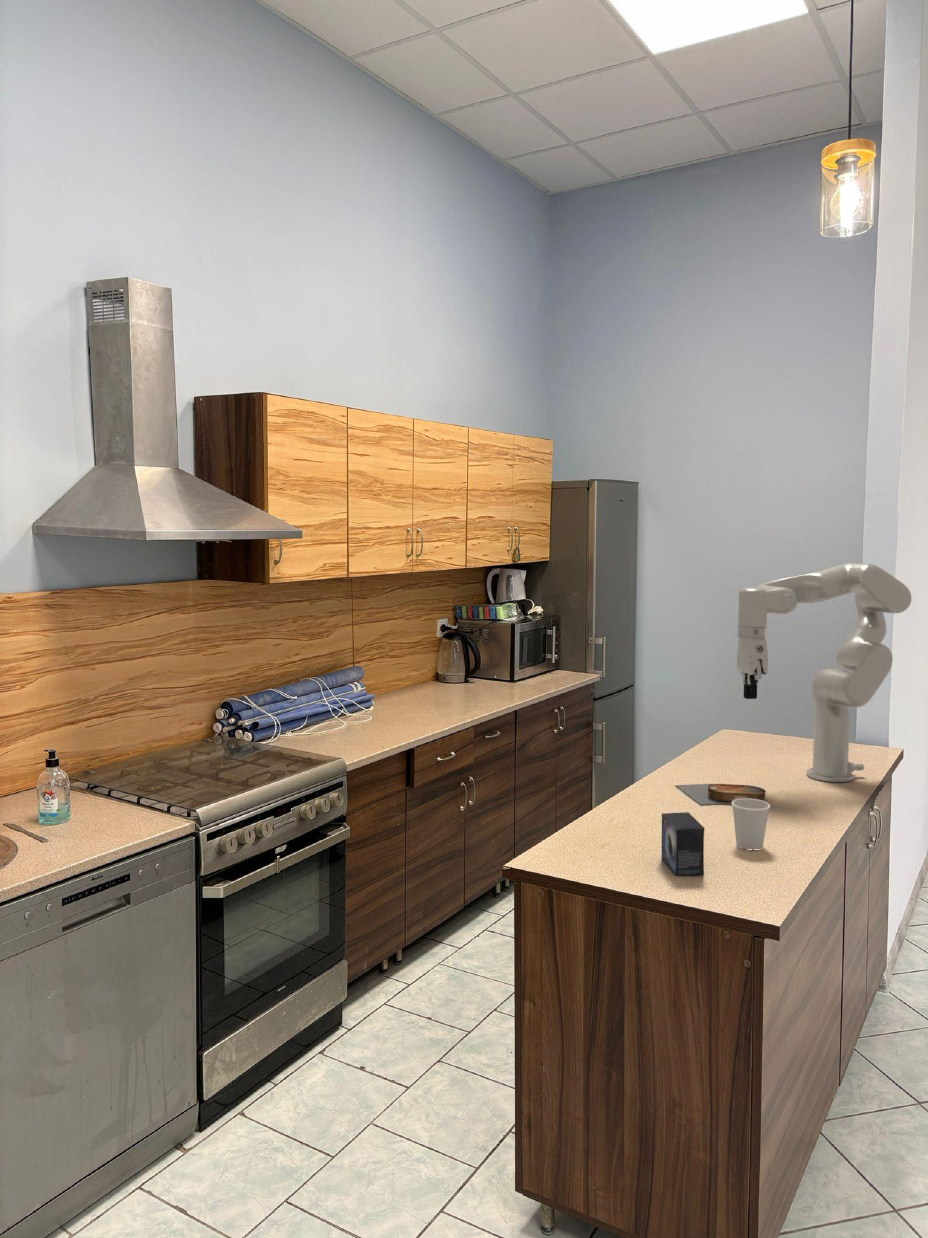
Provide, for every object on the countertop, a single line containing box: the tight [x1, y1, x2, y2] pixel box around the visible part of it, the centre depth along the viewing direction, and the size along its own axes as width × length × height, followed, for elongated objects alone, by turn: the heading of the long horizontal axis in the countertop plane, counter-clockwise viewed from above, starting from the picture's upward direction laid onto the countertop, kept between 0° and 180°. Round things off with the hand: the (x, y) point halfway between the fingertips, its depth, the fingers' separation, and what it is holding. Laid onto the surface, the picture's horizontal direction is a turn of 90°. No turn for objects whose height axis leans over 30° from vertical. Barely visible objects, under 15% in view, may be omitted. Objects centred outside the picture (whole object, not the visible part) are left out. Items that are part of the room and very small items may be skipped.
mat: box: [674, 783, 732, 806], centre depth 245 cm, size 11×18×1 cm, turn 8°
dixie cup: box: [731, 798, 771, 850], centre depth 204 cm, size 8×8×10 cm
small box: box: [660, 811, 705, 877], centre depth 192 cm, size 11×6×10 cm, turn 5°
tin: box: [708, 783, 767, 802], centre depth 241 cm, size 15×3×8 cm
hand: (750, 698), depth 251 cm, fingers closed
